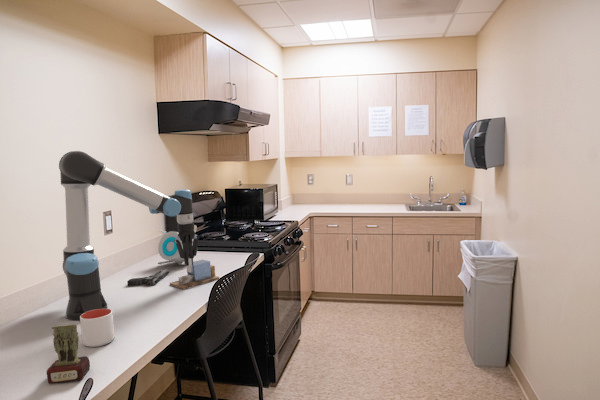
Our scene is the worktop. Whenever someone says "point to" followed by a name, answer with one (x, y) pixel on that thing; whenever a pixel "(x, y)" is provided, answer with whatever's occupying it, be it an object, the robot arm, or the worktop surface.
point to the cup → (97, 327)
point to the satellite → (170, 247)
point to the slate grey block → (201, 270)
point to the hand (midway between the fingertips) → (189, 271)
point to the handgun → (148, 279)
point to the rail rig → (189, 280)
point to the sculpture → (67, 356)
